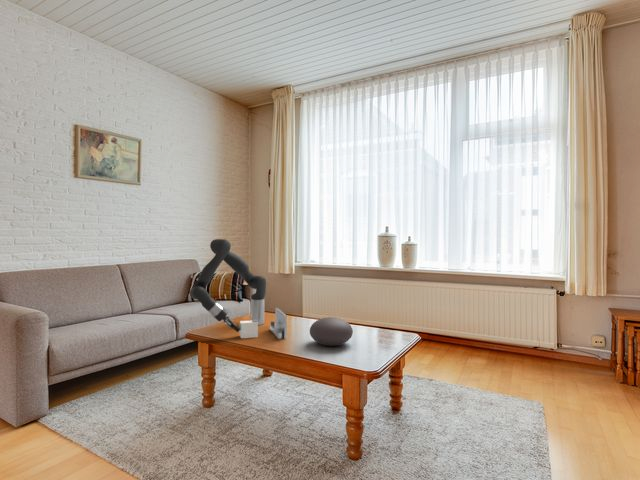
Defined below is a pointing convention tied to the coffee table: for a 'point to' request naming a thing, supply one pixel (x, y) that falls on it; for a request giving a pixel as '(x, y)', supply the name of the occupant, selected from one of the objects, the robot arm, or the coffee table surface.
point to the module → (248, 329)
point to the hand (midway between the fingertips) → (238, 330)
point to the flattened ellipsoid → (331, 331)
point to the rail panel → (279, 324)
